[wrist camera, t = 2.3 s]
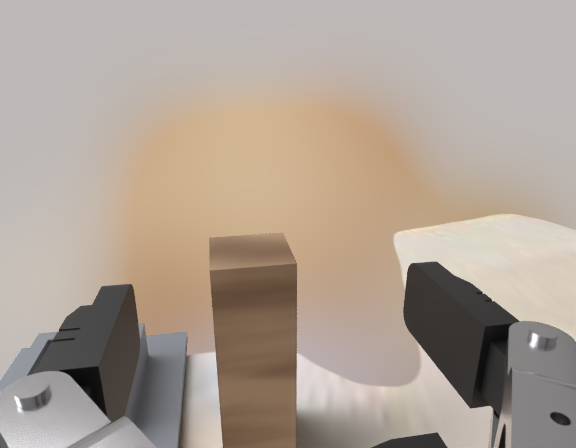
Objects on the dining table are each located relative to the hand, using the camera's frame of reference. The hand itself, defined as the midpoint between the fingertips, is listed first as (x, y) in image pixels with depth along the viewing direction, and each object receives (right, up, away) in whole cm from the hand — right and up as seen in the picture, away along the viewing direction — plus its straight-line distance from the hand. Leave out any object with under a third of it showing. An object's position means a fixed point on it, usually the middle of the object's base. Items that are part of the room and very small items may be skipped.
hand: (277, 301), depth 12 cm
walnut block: (-2, -12, +16) cm, 21 cm away
